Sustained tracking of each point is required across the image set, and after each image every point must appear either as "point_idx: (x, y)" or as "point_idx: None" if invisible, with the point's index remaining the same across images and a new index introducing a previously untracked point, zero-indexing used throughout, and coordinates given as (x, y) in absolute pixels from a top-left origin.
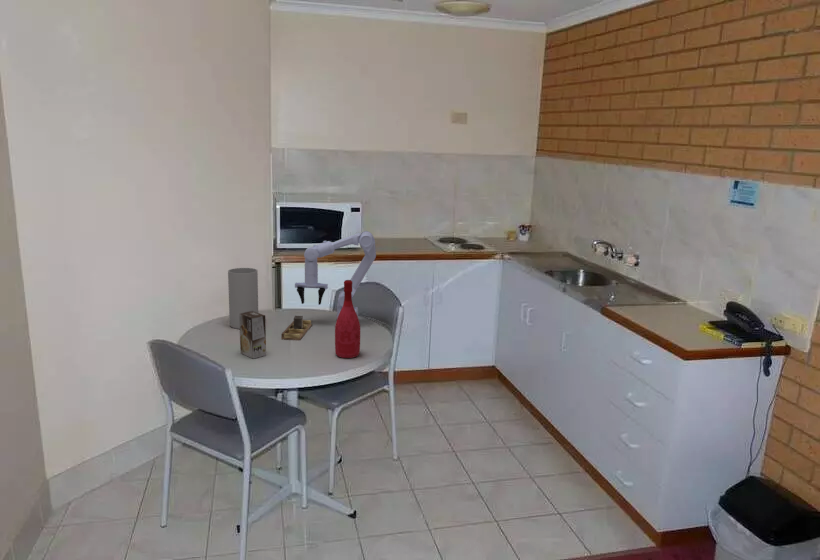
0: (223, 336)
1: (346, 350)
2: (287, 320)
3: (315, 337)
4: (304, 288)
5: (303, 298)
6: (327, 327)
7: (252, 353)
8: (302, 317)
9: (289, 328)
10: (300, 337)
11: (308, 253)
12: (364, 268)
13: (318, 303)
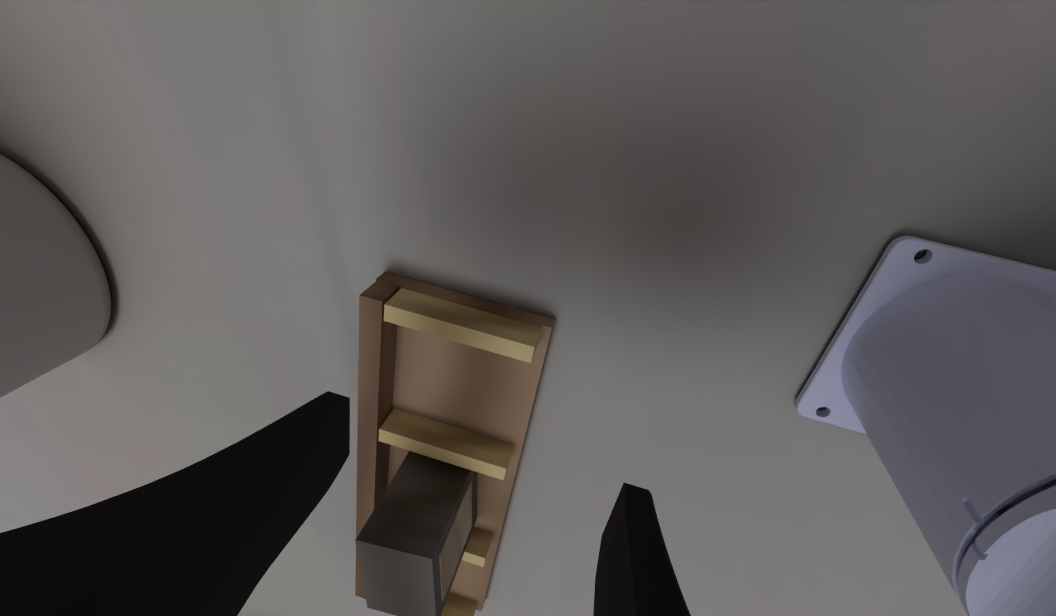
0: (58, 451)
1: None
2: (277, 99)
3: (582, 580)
4: (66, 607)
5: (291, 487)
6: (711, 393)
7: None
8: (437, 563)
9: (376, 502)
10: (481, 597)
11: None
12: None
13: (598, 559)
